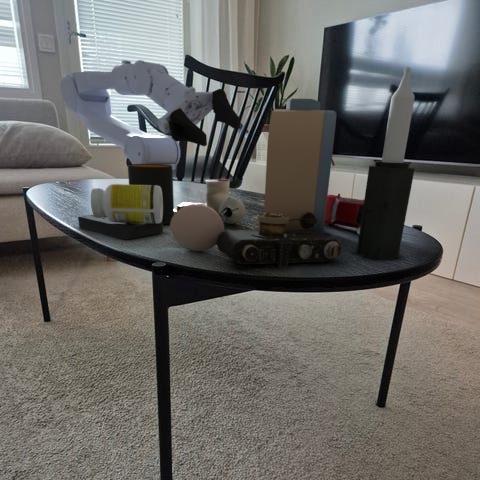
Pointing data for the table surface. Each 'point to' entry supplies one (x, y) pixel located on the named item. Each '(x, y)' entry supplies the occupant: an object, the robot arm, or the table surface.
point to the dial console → (196, 203)
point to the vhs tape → (119, 227)
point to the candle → (389, 183)
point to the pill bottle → (128, 203)
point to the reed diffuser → (232, 211)
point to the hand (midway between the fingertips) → (222, 132)
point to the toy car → (344, 211)
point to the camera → (279, 242)
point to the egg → (196, 227)
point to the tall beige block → (299, 161)
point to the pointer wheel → (216, 192)
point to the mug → (155, 183)
